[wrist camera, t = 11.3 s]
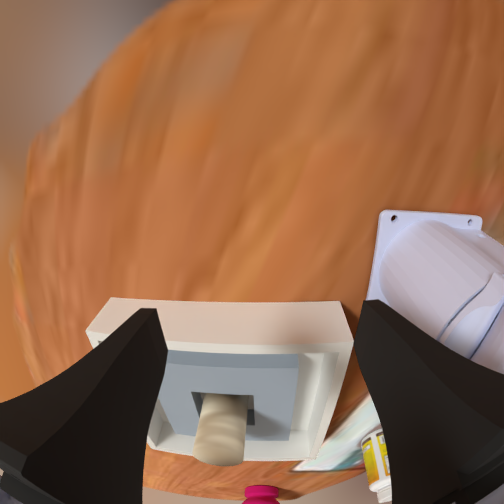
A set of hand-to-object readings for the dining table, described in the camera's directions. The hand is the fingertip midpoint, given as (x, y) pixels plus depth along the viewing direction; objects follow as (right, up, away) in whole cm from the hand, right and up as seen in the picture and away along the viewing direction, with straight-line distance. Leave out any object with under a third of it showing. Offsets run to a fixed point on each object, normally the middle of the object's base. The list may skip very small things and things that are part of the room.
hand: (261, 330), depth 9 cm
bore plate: (-3, -10, +15) cm, 18 cm away
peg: (-3, -10, +14) cm, 18 cm away
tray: (-3, -9, +15) cm, 17 cm away
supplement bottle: (+17, -22, +19) cm, 34 cm away
